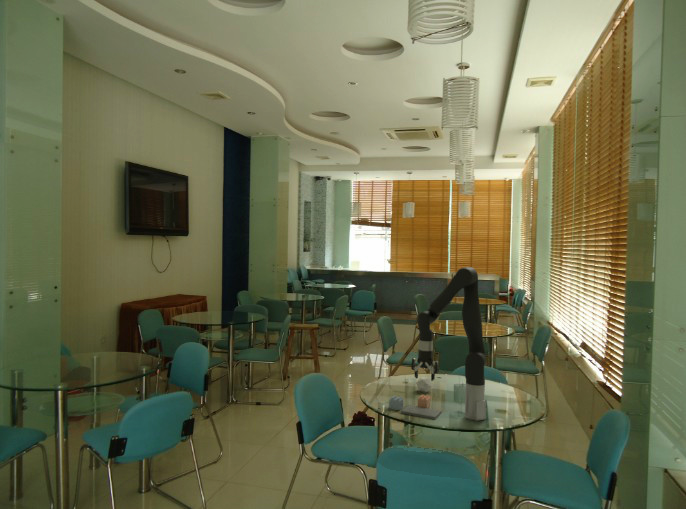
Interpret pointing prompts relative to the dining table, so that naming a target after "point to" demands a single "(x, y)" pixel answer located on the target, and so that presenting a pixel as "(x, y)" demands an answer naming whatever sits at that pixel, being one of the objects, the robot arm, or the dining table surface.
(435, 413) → the baseplate
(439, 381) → the dining table surface
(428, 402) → the brick terracotta
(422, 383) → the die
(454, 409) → the dining table surface
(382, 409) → the dining table surface
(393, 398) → the brick slate
